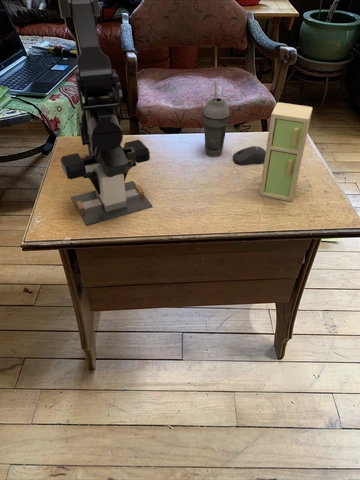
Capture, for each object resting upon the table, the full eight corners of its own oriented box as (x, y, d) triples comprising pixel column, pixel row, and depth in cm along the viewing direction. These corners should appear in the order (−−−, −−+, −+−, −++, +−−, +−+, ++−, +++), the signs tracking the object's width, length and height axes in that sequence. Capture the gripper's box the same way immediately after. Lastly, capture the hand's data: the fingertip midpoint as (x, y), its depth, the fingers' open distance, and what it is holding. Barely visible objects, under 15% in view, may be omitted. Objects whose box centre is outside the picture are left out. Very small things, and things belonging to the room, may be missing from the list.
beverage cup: (210, 162, 112) (215, 89, 99) (195, 151, 117) (198, 80, 104) (231, 155, 115) (238, 83, 102) (216, 144, 120) (221, 74, 107)
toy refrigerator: (257, 196, 99) (270, 114, 86) (264, 181, 105) (277, 101, 91) (290, 204, 97) (309, 120, 84) (295, 188, 102) (314, 106, 89)
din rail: (71, 198, 98) (70, 191, 97) (133, 182, 104) (132, 176, 103) (86, 226, 90) (85, 219, 89) (152, 207, 96) (152, 200, 95)
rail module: (96, 196, 98) (91, 162, 92) (116, 191, 100) (112, 157, 94) (106, 211, 94) (101, 177, 88) (126, 206, 95) (123, 171, 89)
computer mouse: (230, 156, 115) (232, 143, 112) (262, 154, 116) (264, 141, 113) (235, 167, 111) (237, 153, 108) (268, 164, 112) (271, 151, 109)
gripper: (68, 155, 76) (80, 221, 86) (159, 135, 83) (161, 198, 93) (53, 130, 84) (66, 194, 94) (138, 114, 90) (141, 175, 100)
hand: (110, 191), depth 95 cm, fingers closed on rail module, 5 cm apart
